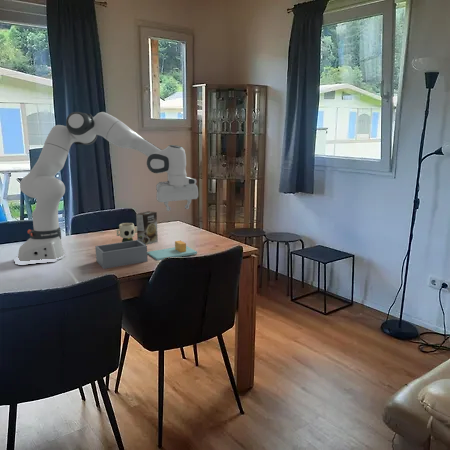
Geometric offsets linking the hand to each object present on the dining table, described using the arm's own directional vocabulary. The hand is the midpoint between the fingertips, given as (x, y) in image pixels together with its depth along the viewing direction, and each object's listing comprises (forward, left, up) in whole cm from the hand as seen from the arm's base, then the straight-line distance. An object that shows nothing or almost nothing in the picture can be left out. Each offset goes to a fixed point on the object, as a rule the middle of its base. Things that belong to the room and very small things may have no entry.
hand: (178, 209), depth 209 cm
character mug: (-19, +19, -22) cm, 35 cm away
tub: (-28, 0, -22) cm, 36 cm away
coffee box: (-6, +26, -22) cm, 35 cm away
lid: (-4, 0, -22) cm, 22 cm away
